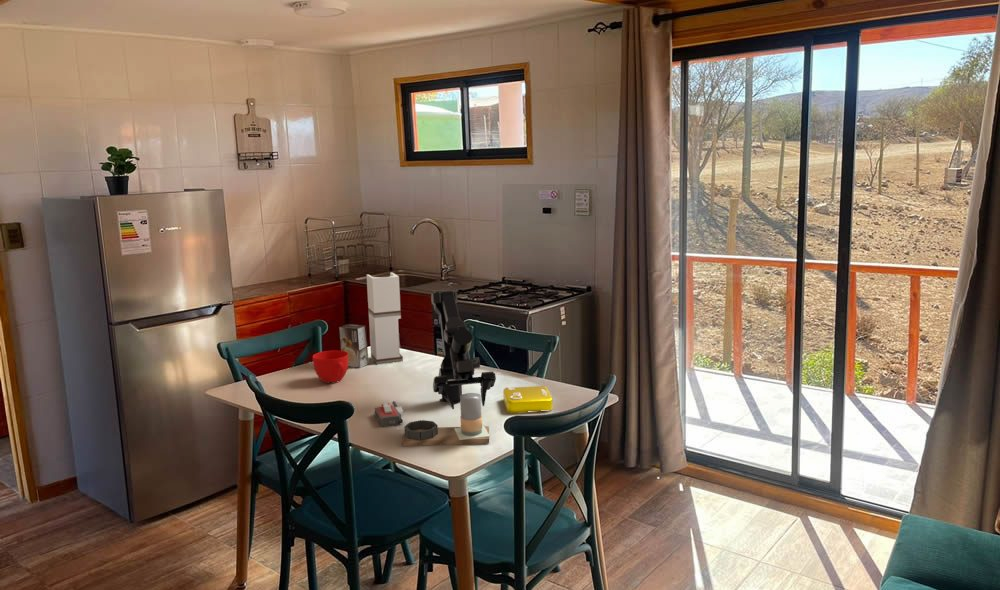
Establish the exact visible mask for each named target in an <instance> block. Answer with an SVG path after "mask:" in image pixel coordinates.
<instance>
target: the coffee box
mask: <svg viewBox="0 0 1000 590" xmlns="http://www.w3.org/2000/svg"><path fill="white" fill-rule="evenodd" d="M338 329H339V339H340V340H339V341H340V351H345V352H347V353H348V367H349V366H350V367H352V368H363V367H366V366H368V365H369V364H370V363H369V352H368V351H369V349H368V335H367V325H365V324H364V325H363V324H354V323H346V324H343V325H342V326H339V327H338Z"/></svg>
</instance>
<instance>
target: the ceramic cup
mask: <svg viewBox="0 0 1000 590" xmlns="http://www.w3.org/2000/svg"><path fill="white" fill-rule="evenodd" d="M312 364H313V369H314V371H315V373H316V376H318V378H319V379H320V380H321V381H322V382H323V381H324V382H336V383H338V382H337V381H339V382H341V381H342V379H343V378H344V376H345V375H346V373H347V371H348V367H349V366H348V353H347V352H345V351H341V350H337V349H336V350H334V349H333V350H323V351H319V352H317V353H314V354H313V355H312ZM340 380H341V381H340ZM324 382H323V383H324Z"/></svg>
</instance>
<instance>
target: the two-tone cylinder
mask: <svg viewBox="0 0 1000 590" xmlns="http://www.w3.org/2000/svg"><path fill="white" fill-rule="evenodd" d="M459 403H460V405H459V407H460V418H459V419H460V427H461V431H462V434H463V435H467V436H475V435H479V434H481V433H482V425H483V415H482V400H481V393H476V392H475V393H474V392H467V393H464V394H463V393H462V395H461V396H460V402H459Z"/></svg>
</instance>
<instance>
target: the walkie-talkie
mask: <svg viewBox="0 0 1000 590" xmlns="http://www.w3.org/2000/svg"><path fill="white" fill-rule="evenodd" d="M391 403H392V404H390V403H389V402H388V403H381V406H377V407H375V408H374V416H375V418H376V419H377V422H378V423H379V426H380V427H383V428H385V427H389V426H397V425H401V424H403V422H404V420H403V417H404V410H403V408H402V406H398V404H397V402H396V401H394V400H393V401H392V402H391Z"/></svg>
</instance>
